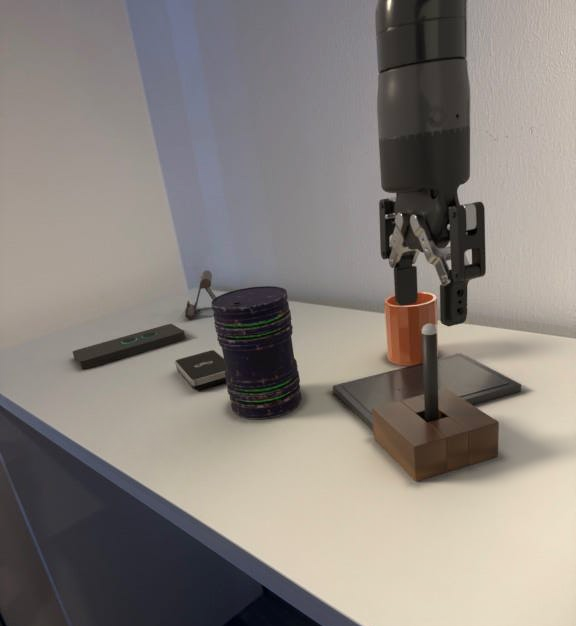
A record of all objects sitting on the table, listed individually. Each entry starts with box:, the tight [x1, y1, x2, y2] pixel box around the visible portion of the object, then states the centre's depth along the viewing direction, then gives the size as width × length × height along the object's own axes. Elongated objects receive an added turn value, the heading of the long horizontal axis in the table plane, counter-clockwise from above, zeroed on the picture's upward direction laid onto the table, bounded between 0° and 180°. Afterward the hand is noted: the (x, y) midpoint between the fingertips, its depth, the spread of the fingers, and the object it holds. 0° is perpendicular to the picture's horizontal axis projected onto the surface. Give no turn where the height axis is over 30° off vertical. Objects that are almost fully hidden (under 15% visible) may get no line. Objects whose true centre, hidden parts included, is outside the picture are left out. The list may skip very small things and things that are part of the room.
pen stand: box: [372, 388, 500, 482], centre depth 57 cm, size 9×9×4 cm
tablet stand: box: [184, 270, 217, 321], centre depth 119 cm, size 9×8×8 cm
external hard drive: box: [174, 349, 227, 391], centre depth 86 cm, size 7×11×2 cm, turn 25°
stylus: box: [422, 323, 439, 423], centre depth 55 cm, size 1×1×14 cm
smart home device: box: [72, 323, 186, 370], centre depth 104 cm, size 8×2×20 cm
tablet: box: [332, 352, 522, 433], centre depth 70 cm, size 20×13×1 cm, turn 107°
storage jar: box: [210, 285, 302, 420], centre depth 71 cm, size 10×10×15 cm
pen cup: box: [383, 291, 439, 367], centre depth 80 cm, size 7×7×9 cm
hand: (428, 312), depth 52 cm, fingers open, 8 cm apart
